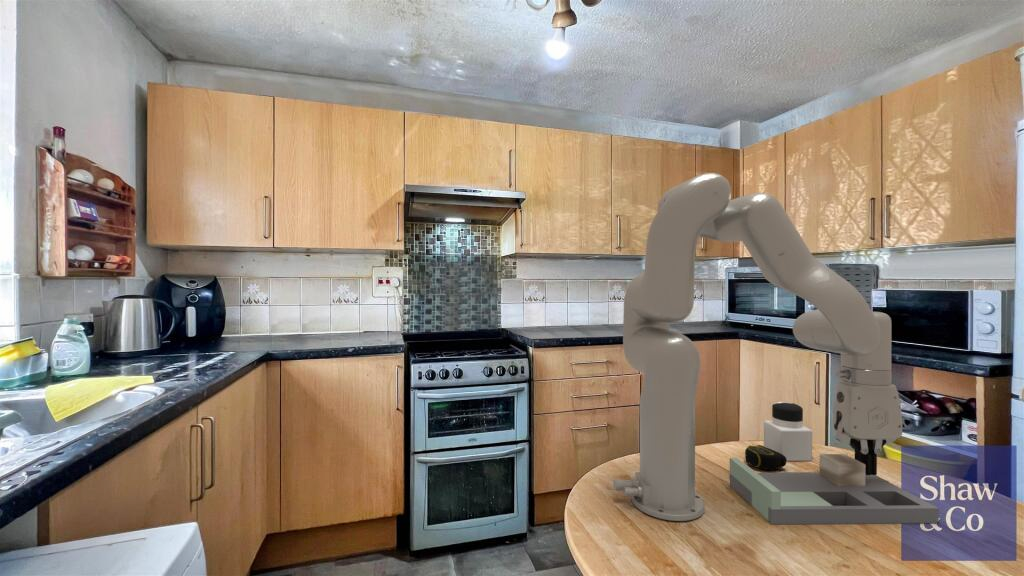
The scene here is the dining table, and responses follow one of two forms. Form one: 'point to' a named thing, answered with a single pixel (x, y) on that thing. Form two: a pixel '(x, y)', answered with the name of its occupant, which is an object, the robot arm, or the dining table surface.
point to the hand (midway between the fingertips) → (865, 471)
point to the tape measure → (764, 457)
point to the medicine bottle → (788, 432)
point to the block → (842, 469)
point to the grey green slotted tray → (827, 499)
